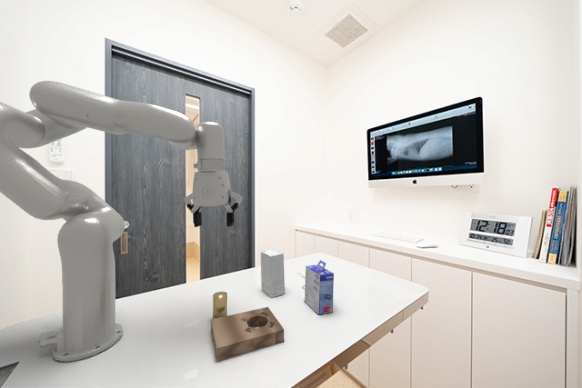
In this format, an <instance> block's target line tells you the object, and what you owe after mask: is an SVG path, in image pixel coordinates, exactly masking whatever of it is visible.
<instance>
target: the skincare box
mask: <svg viewBox="0 0 582 388" xmlns="http://www.w3.org/2000/svg"><path fill="white" fill-rule="evenodd" d="M284 257H285V255H284V253H283V252H281V251H278V250H275V249H274V248H273V249H268V250H267V249H266V250H263V251H260V272H261V273H260V275H261V276H260V277H261V278H260V280H261V281H260V282H261V291H263V292H264V293H265V294H266V295H268V296H269V297H270V298H275V297H278V296H282V295H285V293H286V290H285V289H286V288H285V283H286V282H285V259H284Z"/></svg>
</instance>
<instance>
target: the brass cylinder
mask: <svg viewBox="0 0 582 388" xmlns="http://www.w3.org/2000/svg"><path fill="white" fill-rule="evenodd" d="M225 316H228V292H226V291H218V292H215V293H214V294H213V295H212V319H216V318H220V317H225Z"/></svg>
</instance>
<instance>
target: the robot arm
mask: <svg viewBox="0 0 582 388" xmlns="http://www.w3.org/2000/svg"><path fill="white" fill-rule="evenodd" d="M29 99H30V102H31V103H32V106H33V107H34V108H35V109H31V110H29V111H26V112H25V111H23V110H20V109H18V108H15V107H13V106H11V105H9V104H7V103H5V102H4V103H3V102H2V101H0V193H1V194H2V195H3V196H5V197H6V198H7V199H8V200H9V201H11V202H12V203H14V204H15V205H16V206H18V207H19V208H20V209H21V210H23V211H24V212H25V213H26V214H28V215H29V216H30V217H33V218H35V219H38V220H41V221H54V220H59V219H60V220H61V219H62V220H64V221H65V223H63V225H62V226H61V228H60V229H59V230H58V233H57V242H56V243H57V248H58V253H59V256H60V263H61V277H62V278H61V283H62V328H59V329H58V330H56V331H49V332H47V331H46V332H44V333H40V335H39V338H38V343H39V347H40V348H44V347H48V346H51V345H54V347H53V349H52V357H54V358H53V359H54V360H55V359H56V360H55V361H58V360H59V361H58V362H75V361H79V360H84V359H87V358H90V357H92V356H94V355H97V354H100V353H102V352H103V351H106V350H107V349H109V348H111V347H112V346H113V345H115V344H116V343H117V342H118V341H119V340H121V338H122V336H123V334H124V329H123V328H124V327H123V326H122V325H120V324H119V323H116V259H115V254H114V253H115V252H114V246H113V245H114V244H113V243H114V242H116V241H117V240H118V239H120V238H121V236H122V235H123V233H124V231H125V228H126V224H125V223H126V222H125V220H124V218H123V216H122V215H121V214H120V213H118V211H116V210H115V208H113V207H112V206H111V205H110V204H108V203H107V202H106V201H105V200H104V199H103V198H101V197H100V196H99V194H97V193H96V192H95V191H94V190H92V189H91V188H90V187H88V186H87V185H84V184H83V183H81V182H77V181H74V180H69V179H61V178H59V177H58V176H56V175H55V174H53V173H52V172H51V171H49V170H48V169H47V168H46V167H45V166H43V165H42V164H41V163H40V162H39V161H38V160H37V159H35V158H34V157H33V156H31V155H30V154H29V153H26V152H25V151H24V150H22V149H35V148H36V149H37V148H41V147H44V146H45V145H49V144H51V143H54V142H57V141H59V140H63V139H64V138H66V137H70V136H72V135H74V134H77V133H79V132H81V131H83V130H86V129H87V128H88V129H91V130H92V129H93V130H95V131H96V130H97V131H101V132H104V133H108V134H113V135H117V136H119V135H121V136H123V135H127V134H139V135H144V136H148V137H152V138H156V139H161V140H164V141H167V142H168V143H169V145H170V146H171V147H173V148H174V149H176V150H179V151H191V150H196V153H197V155H196V158H197V159H196V160H197V161H196V163H193V169H196V170H197V171H195V172H194V174H193V175H194V176H193V181H192V193H191V194H189V195H187V196H185V197H184V198H183V201H184V203H185V205H186V207H187V209H188V210H189V211H190V213H191V214H192V220H193V221H192V223H193V225H194V228H198V227H201V226H202V224H203V220H202V217H203V215H202V211H201V210H202V208H204V207H205V208H206V207H208V208H209V207H210V208H211V207H216V208H217V207H224V208H225V210H226V211H227V212H226V227H229V228H230V227H232V226H233V225H234V224H235V212H236V210H237V209H239V207H240V205H241V203H242V200H243V196H242V195H240V194H238V193H236V192H234V191H232V187H231V180H230V177H229V173H228V171H226V152H225V150H226V149H225V148H226V147H225V129H224V127H223V125H221V124H220V123H218V122H213V121H204V122H199V123H198V124H197V125H196V126H195V123H194V122H193V120H192V119H191V118H190V117H188V116H187V115H185V114H183V113H181V112H178V111H175V110H173V109H168V108H166V107H163V106H159V105H156V104H152V103H147V102H142V101H132V100H130V101H129V100H120V99H118V98H114V97H111V96H107V95H104V94H100V93H97V92H94V91H90V90H86V89H83V88H80V87H77V86H72V85H70V84H67V83H63V82H59V81H55V80H40V81H38V82H35V84H33V85H32V86H31V88H30V89H29ZM233 198H234V199H235V201H234V203H233V204H232V199H233Z"/></svg>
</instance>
